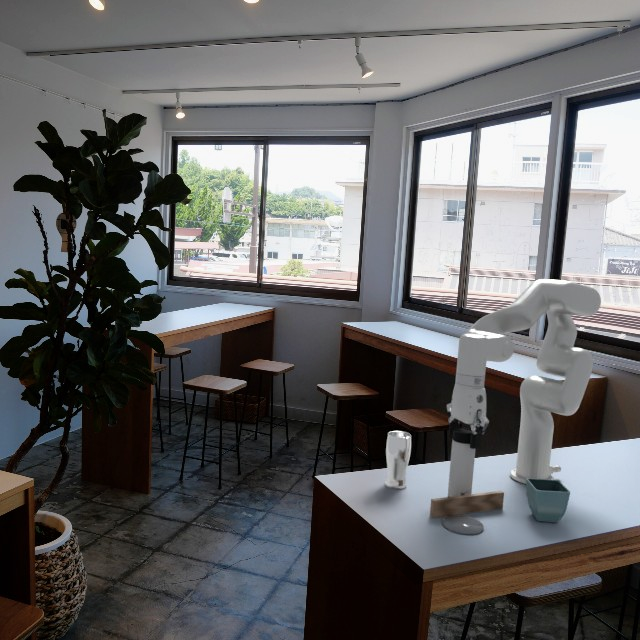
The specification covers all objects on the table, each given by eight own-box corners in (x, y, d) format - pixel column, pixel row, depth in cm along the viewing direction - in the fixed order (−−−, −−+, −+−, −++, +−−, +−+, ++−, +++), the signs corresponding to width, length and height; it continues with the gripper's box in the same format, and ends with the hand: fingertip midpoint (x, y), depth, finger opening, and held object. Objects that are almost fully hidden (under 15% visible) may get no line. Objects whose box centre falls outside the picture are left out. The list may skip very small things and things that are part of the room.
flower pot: (522, 509, 167) (525, 477, 166) (555, 512, 167) (559, 479, 166) (532, 524, 158) (535, 490, 157) (567, 526, 158) (571, 492, 157)
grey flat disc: (467, 515, 161) (467, 513, 161) (492, 532, 152) (492, 530, 152) (434, 519, 157) (434, 517, 157) (457, 537, 148) (458, 535, 148)
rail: (499, 506, 168) (501, 490, 167) (502, 508, 167) (504, 492, 166) (429, 516, 159) (431, 499, 159) (432, 518, 158) (433, 500, 158)
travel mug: (467, 506, 167) (474, 433, 164) (444, 500, 170) (450, 428, 168) (475, 499, 172) (481, 428, 170) (452, 493, 175) (458, 423, 173)
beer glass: (379, 486, 178) (383, 434, 176) (388, 478, 184) (392, 429, 182) (403, 491, 175) (407, 439, 173) (411, 484, 181) (415, 433, 179)
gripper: (502, 387, 161) (496, 451, 163) (462, 373, 177) (457, 432, 179) (478, 388, 158) (472, 453, 160) (439, 374, 174) (434, 434, 176)
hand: (464, 442), depth 169 cm, fingers open, 9 cm apart
